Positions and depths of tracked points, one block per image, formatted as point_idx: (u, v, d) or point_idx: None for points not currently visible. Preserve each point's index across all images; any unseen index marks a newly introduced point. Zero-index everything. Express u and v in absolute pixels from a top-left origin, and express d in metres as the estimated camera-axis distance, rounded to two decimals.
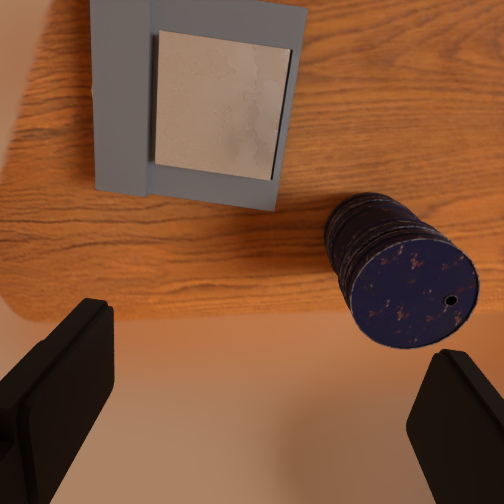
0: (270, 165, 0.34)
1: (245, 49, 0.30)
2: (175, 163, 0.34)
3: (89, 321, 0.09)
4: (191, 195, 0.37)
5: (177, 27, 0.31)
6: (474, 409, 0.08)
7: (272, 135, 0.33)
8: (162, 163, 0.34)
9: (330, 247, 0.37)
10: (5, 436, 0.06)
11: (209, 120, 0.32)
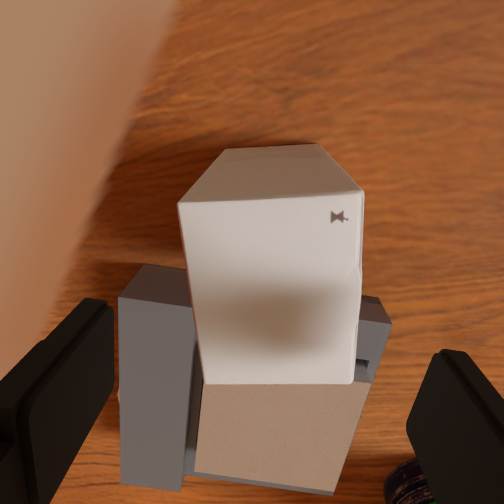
0: (335, 479, 0.27)
1: None
2: (219, 472, 0.28)
3: (89, 321, 0.09)
4: (234, 478, 0.31)
5: None
6: (474, 409, 0.08)
7: (340, 455, 0.26)
8: (203, 471, 0.28)
9: None
10: (5, 436, 0.06)
11: (263, 439, 0.26)
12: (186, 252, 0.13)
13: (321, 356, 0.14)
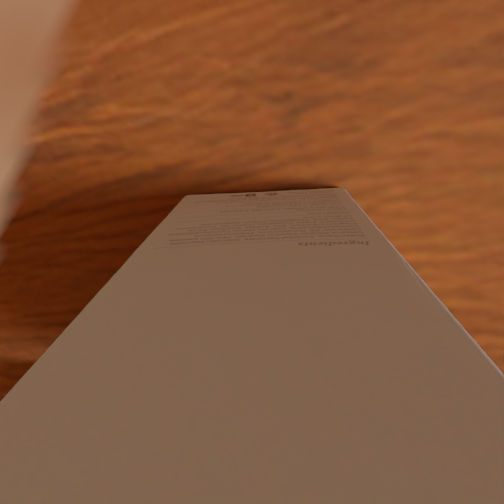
0: None
1: None
2: None
3: None
4: None
5: None
6: None
7: None
8: None
9: None
10: None
11: None
12: None
13: None
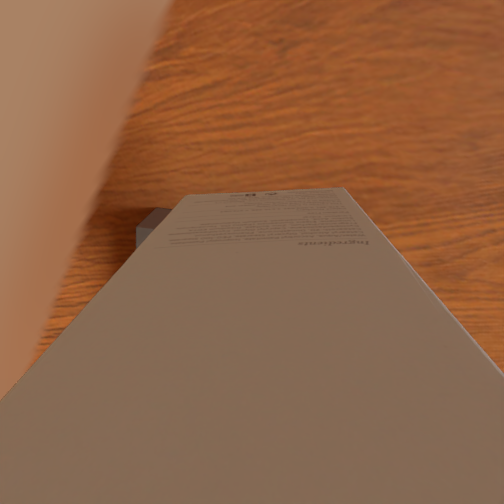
0: None
1: None
2: None
3: None
4: None
5: None
6: None
7: None
8: None
9: None
10: None
11: None
12: None
13: None
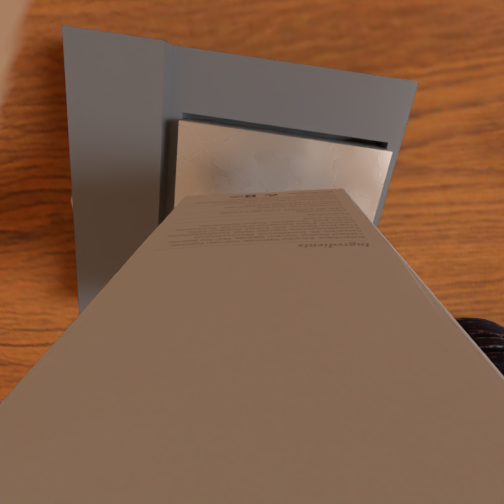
0: None
1: (318, 150, 0.18)
2: None
3: None
4: None
5: (205, 108, 0.20)
6: None
7: None
8: None
9: None
10: None
11: None
12: None
13: None
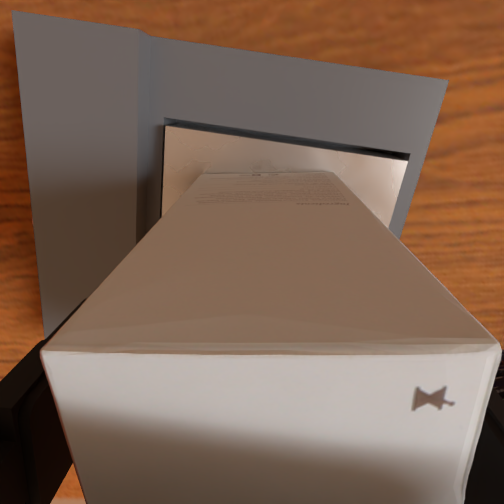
0: None
1: (324, 159, 0.16)
2: None
3: None
4: None
5: (191, 112, 0.17)
6: None
7: None
8: None
9: None
10: (6, 436, 0.06)
11: None
12: (72, 447, 0.05)
13: None
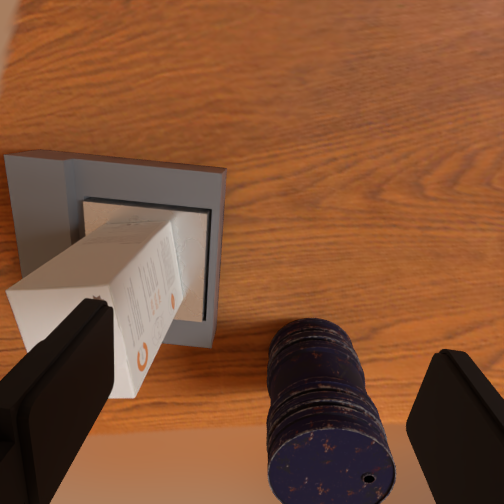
0: (200, 309, 0.35)
1: (165, 214, 0.32)
2: None
3: (89, 321, 0.09)
4: None
5: (97, 193, 0.32)
6: (474, 409, 0.08)
7: (199, 284, 0.34)
8: None
9: (267, 384, 0.37)
10: (5, 436, 0.06)
11: None
12: (15, 318, 0.21)
13: None
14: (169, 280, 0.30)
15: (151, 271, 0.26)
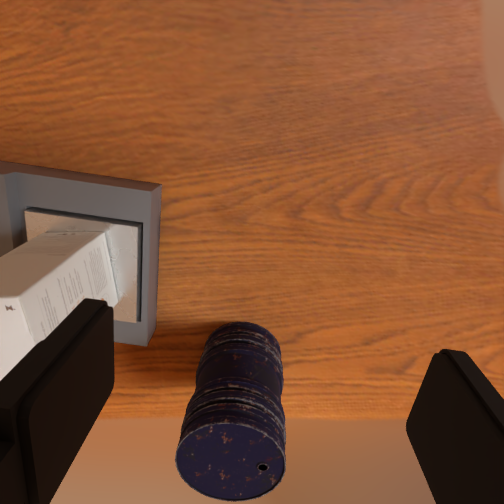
0: (134, 311, 0.38)
1: (99, 226, 0.35)
2: None
3: (89, 321, 0.09)
4: None
5: (38, 203, 0.35)
6: (474, 409, 0.08)
7: (132, 289, 0.37)
8: None
9: (196, 380, 0.40)
10: (5, 436, 0.06)
11: None
12: None
13: None
14: (98, 286, 0.33)
15: (75, 280, 0.30)
